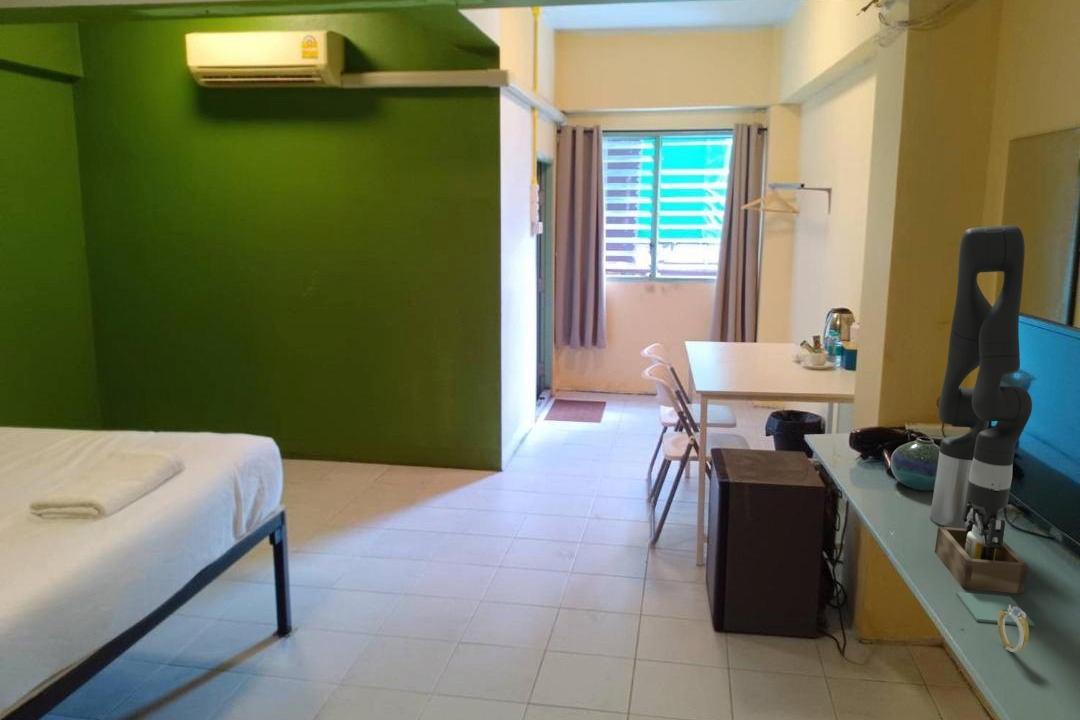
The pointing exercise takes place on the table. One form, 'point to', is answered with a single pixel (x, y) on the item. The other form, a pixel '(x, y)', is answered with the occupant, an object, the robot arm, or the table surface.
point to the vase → (916, 463)
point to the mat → (989, 607)
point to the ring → (1022, 626)
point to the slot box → (980, 564)
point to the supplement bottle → (974, 543)
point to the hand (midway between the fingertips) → (977, 554)
